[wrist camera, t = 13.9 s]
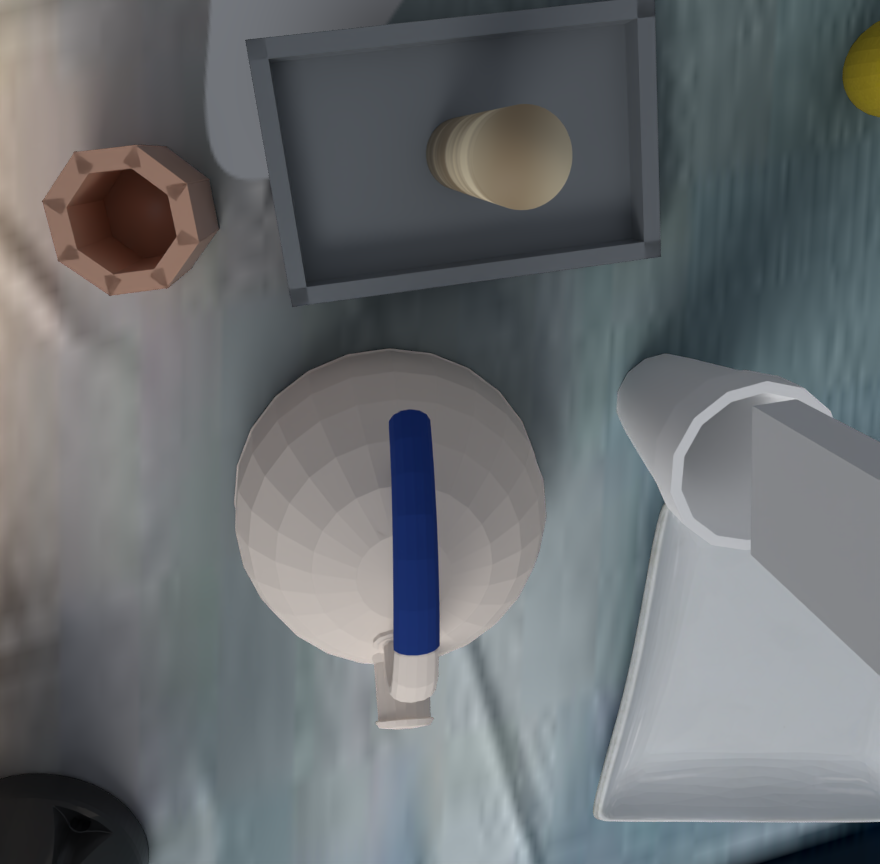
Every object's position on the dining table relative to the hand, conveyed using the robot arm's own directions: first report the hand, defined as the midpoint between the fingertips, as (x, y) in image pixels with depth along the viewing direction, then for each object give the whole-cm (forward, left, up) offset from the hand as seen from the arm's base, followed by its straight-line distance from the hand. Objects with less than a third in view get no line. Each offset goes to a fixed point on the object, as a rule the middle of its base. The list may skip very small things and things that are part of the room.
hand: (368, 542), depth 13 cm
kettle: (+1, -16, -39) cm, 42 cm away
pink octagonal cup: (-10, +4, -39) cm, 40 cm away
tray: (+8, +5, -39) cm, 40 cm away
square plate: (+29, -34, -39) cm, 60 cm away
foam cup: (+20, -12, -39) cm, 45 cm away
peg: (+8, +5, -38) cm, 39 cm away
